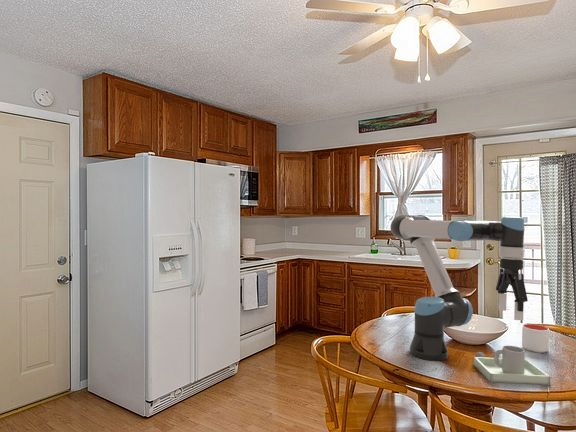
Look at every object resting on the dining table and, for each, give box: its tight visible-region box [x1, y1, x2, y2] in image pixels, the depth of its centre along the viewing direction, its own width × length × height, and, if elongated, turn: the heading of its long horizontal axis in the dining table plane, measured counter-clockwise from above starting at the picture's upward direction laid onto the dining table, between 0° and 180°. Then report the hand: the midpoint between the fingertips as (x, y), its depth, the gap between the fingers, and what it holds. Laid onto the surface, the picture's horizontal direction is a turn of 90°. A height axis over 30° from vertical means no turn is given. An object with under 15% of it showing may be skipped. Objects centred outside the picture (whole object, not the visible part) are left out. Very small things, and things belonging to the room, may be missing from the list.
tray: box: [473, 356, 552, 386], centre depth 145 cm, size 20×16×3 cm
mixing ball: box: [474, 351, 486, 357], centre depth 158 cm, size 4×4×4 cm
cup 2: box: [521, 323, 550, 354], centre depth 173 cm, size 10×10×10 cm
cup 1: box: [493, 345, 526, 374], centre depth 146 cm, size 7×10×9 cm
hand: (510, 315), depth 146 cm, fingers open, 13 cm apart
